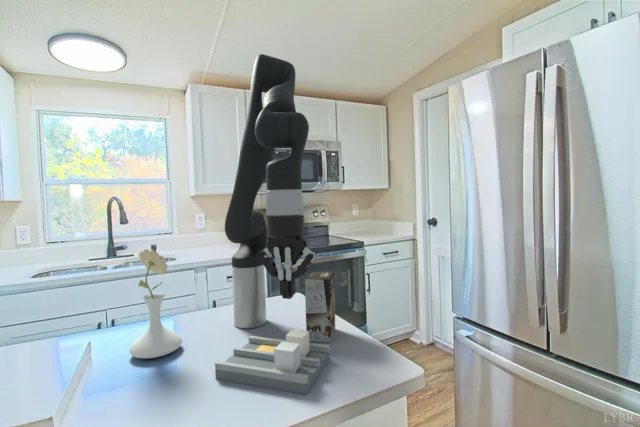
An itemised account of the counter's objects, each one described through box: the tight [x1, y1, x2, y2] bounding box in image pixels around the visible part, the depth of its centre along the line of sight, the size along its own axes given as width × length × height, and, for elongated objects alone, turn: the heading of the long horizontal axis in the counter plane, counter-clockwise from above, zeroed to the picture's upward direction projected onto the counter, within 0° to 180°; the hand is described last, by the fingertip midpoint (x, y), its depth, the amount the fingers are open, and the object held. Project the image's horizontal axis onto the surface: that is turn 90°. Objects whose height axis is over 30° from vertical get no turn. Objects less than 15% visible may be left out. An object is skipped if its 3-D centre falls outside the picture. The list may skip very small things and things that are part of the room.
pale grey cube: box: [274, 342, 301, 373], centre depth 67 cm, size 4×4×4 cm
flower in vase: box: [129, 248, 183, 359], centre depth 81 cm, size 13×11×25 cm
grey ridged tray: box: [214, 335, 331, 396], centre depth 72 cm, size 20×14×3 cm
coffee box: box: [304, 271, 336, 343], centre depth 88 cm, size 9×6×16 cm
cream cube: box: [285, 328, 310, 357], centre depth 73 cm, size 4×4×4 cm
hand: (288, 297), depth 68 cm, fingers closed
